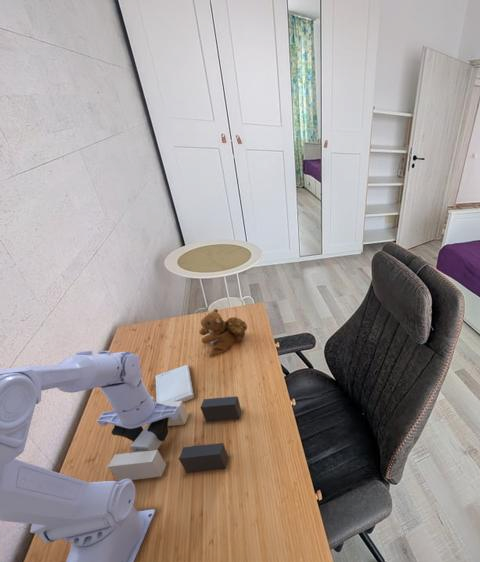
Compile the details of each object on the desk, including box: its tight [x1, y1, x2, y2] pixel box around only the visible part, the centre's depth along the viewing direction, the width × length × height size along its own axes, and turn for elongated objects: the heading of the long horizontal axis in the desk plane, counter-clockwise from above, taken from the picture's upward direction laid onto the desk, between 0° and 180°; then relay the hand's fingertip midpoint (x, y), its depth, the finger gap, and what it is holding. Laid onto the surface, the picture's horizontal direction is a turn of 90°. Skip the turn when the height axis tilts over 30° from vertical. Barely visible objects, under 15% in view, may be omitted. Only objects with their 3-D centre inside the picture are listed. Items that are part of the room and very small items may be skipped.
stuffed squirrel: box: [198, 308, 248, 357], centre depth 93 cm, size 10×14×13 cm
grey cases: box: [178, 395, 242, 474], centre depth 67 cm, size 14×8×6 cm, turn 9°
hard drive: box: [154, 364, 195, 403], centre depth 79 cm, size 2×8×12 cm
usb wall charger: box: [129, 426, 164, 453], centre depth 64 cm, size 4×7×4 cm, turn 178°
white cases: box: [107, 401, 189, 482], centre depth 65 cm, size 14×8×6 cm, turn 9°
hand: (153, 438), depth 65 cm, fingers closed on usb wall charger, 4 cm apart
